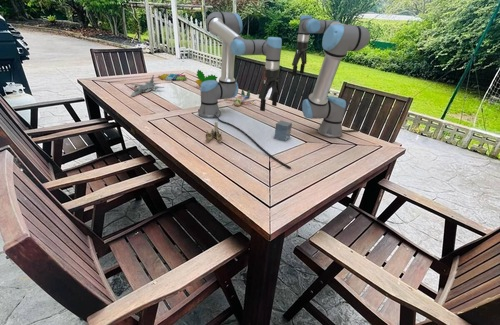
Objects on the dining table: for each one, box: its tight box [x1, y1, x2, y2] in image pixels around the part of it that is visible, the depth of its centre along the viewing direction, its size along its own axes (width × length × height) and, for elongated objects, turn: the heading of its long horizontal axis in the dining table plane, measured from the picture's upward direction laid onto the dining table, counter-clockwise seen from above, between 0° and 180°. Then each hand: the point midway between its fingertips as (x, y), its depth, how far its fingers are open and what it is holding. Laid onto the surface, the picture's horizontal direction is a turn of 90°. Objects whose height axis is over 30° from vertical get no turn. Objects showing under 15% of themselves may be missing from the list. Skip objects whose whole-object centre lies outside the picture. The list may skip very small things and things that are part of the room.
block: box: [273, 120, 293, 142], centre depth 157 cm, size 7×7×10 cm
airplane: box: [130, 74, 165, 97], centre depth 228 cm, size 38×32×10 cm
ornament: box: [194, 69, 219, 88], centre depth 252 cm, size 21×8×15 cm, turn 105°
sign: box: [158, 73, 187, 82], centre depth 282 cm, size 26×2×30 cm
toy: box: [223, 89, 257, 106], centre depth 219 cm, size 28×7×30 cm
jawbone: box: [205, 121, 223, 144], centre depth 149 cm, size 9×15×10 cm
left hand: (268, 108), depth 149 cm, fingers open, 13 cm apart
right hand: (297, 74), depth 184 cm, fingers open, 13 cm apart
